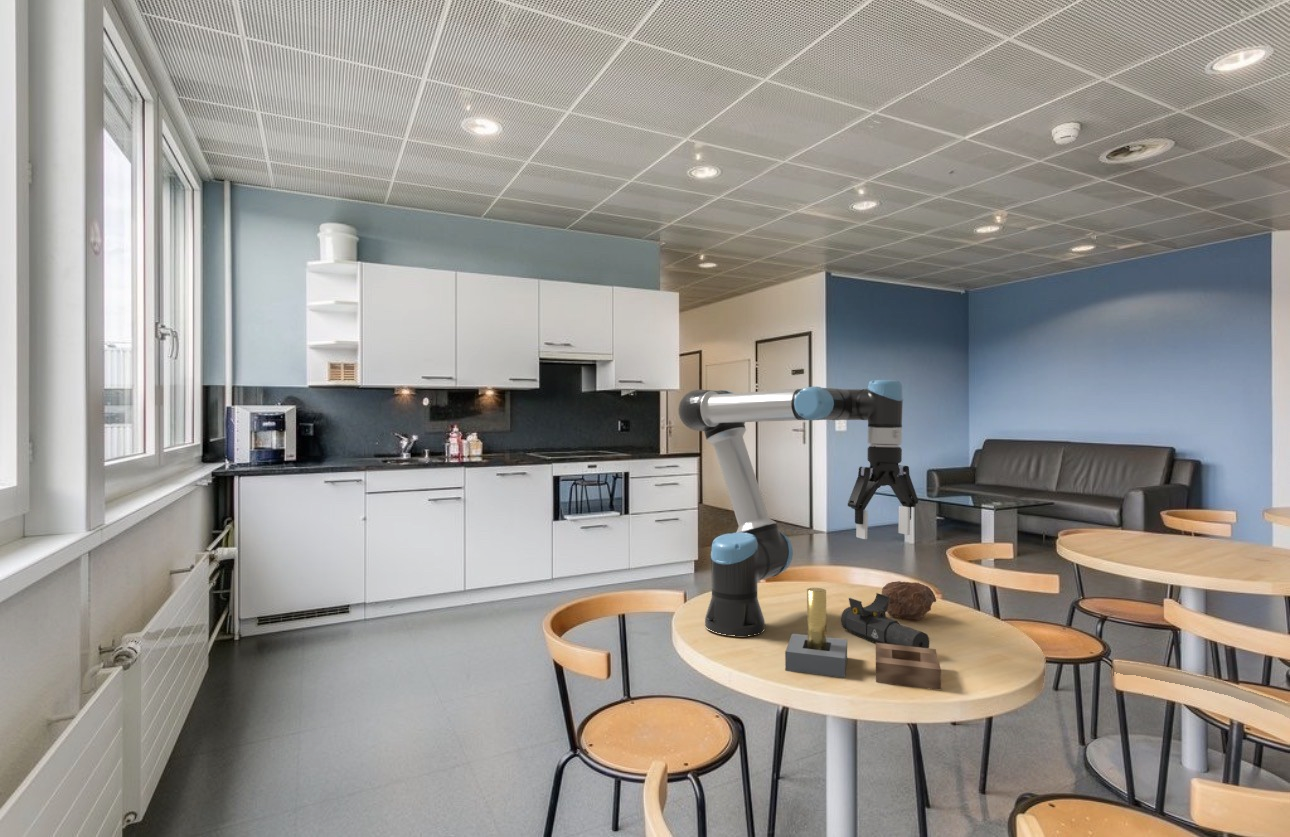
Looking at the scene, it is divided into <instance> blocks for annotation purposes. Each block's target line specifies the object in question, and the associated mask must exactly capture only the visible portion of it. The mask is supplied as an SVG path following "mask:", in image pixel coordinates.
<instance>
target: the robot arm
mask: <svg viewBox="0 0 1290 837" xmlns="http://www.w3.org/2000/svg"><path fill="white" fill-rule="evenodd" d="M903 401H904V398H903V385H902V383H901V381H899V380H898V379H897V380H895V379H876V380H875V379H874V380H870V381H869V382H868V386H867V388H863V389H860V388H859V389H857V388H856V389H855V388H854V389H849V388H848V389H847V388H843V389H842V388H831V387H830V388H829V387H821V386H808V387H804V388H794V389H793V388H792V389H779V390H761V391H760V390H759V391H751V392H750V391H749V392H732V391H729V390H721V389H720V390H710V389H694V390H691V391H689V392H688V393H686V394H685V395H683V397H682V398H681V400H680V402H679V405H678V416H679V419H680V421H681V422H682V424H683V425H684V426H686V427H687V428H688V429H690V430H693V431H695V432H697V431H698V432H704V435H705V439H706V442H707V443H709V444H711V445H712V446H713V447H714V451H715V454H716V457H717V460H718V463H719V466H720V470H721V473H722V477H723V480H724V483H725V485H726V489H727V492H728V495H729V499H730V503H731V506H732V508H733V512H734V515H735V519H736V521H737V525H738V527H737V530H736V532H732V533H724V534H721V535H719V536H717V537H715V538H714V539H713V541H712V544H711V552H710V558H711V599H710V601H709V604H708V607H707V611H706V614H705V617H704V626H706V627H707V628H708V629H710V630H712V631H714V632H717V633H721V634H726V635H735V636H747V637H749V636H748V635H754V634H757V635H759V634H758V633H760V634H762V633H763V632H764V631H765V630H764V629H766V628H765V626H766V625H765V617H764V614H763V611H762V608H761V605H760V602H759V599H758V598H759V597H758V581H762V580H765V579H768V578H774V577H777V576H778V575H780V574H782V573H783V572H785V571H786V570H787V569H788V568H789V566H791V563H792V561H793V556H794V551H793V550H794V549H793V544H792V542H791V540H790V539H789V537H788V536H787V535H785V534H784V533H783V532H781V531H780V530H779V527H778V525H777V524H778V523H777V521H775V520H773V519H771V518H770V516H769V515H768V511H767V509H766V505H765V502H764V499H763V495H762V493H761V489H760V486H759V483H758V481H757V477H756V474H755V471H754V467H753V464H752V462H751V459H750V455H749V451H748V449H747V445H746V443H745V439H744V435H745V433H746V431H747V429H746V425H745V424H746V423H753V422H754V423H758V422H762V423H763V422H784V421H785V422H786V421H788V422H789V421H867V444H868V445H869V446H868V447H867V461H868V463H869V467H868V466H859V468H858V474H857V478H856V481H855V483H854V486H853V489H852V491H851V494H850V496H849V499H848V502H847V507H850V508H851V509H853V510H854V523H855V524H856V527H855V530H856V532H855V535H856V536H855V537H856V538H858V539H862V540H868V529H869V528H868V524H869V523H868V522H869V521H868V520H869V519H868V517H869V515H868V514H869V513H868V512H869V511H868V510H867V509H866V507H867V506H868V504H870V502H871V500H872V498H873V497H874V495H875V494H876V492H877V490H878V489H879V488H881V487H885V486H889V487H890V488H891V490H892V491H893V494H894V495H895V496H896V498H897V500H898V501H899V502H900V504H901V505H898V527H897V528H898V531H897V532H898V534H903V535H906V536H910V535H911V534H910V533H911V519H912V508H915V507H916V506H917V505H916V504H919V499H918V496H917V495H918V494H917V492H916V490H915V486H914V484H913V482H912V478H911V475H910V467H909V466H908V465H901V463H902V460H903V458H902V456H903V455H902V454H903V453H902V451H903V450H902V449H903V448H902V447H901V446H900V445H902V442H903V441H902V438H903V437H902V434H903V433H902V429H903V404H904V403H903ZM763 630H764V631H763ZM762 631H763V632H762ZM761 632H762V633H761ZM754 636H755V635H754Z"/></svg>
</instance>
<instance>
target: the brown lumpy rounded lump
mask: <svg viewBox="0 0 1290 837" xmlns="http://www.w3.org/2000/svg"><path fill="white" fill-rule="evenodd" d="M881 594H882V595H885V596H888V597H889V602H888V608H887V612H886V613H887V614H888V616H890V617H891V616H892V617H895V618H901V619H902V620H903V619H904V620H905V619H906V620H907V619H912V620H914V621H919V620H921V619H923V618H924V617H925V616H926V615H927V613H928V612H930V611H931V610H932V605H933V603H936V602H937V598H936V595H935V592H933V590H932V589H931V587H929V586H927V585H925V584H922V583H920V582H917V581H916V582H913V581H912V582H909V581H901V580H896V581H891V582H888V583H886V584H885V586H882V588H881Z"/></svg>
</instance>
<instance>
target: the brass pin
mask: <svg viewBox="0 0 1290 837" xmlns="http://www.w3.org/2000/svg"><path fill="white" fill-rule="evenodd" d="M806 605H807V606H806V608H807V609H806V610H807V611H806V612H807V617H806V618H807V619H806V620H807V621H806V622H807V624H806V626H807V628H806V629H807V630H806V632H807V634H806V635H807V641H808V649H814V650H823V651H827V639H826V637H827V590H826V589H825V588H821V587H820V588H819V587H809V588H807V589H806Z"/></svg>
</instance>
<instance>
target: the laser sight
mask: <svg viewBox="0 0 1290 837" xmlns="http://www.w3.org/2000/svg"><path fill="white" fill-rule="evenodd" d="M875 594H876V595H875V598H874V600H873V601H872V603H870V604H868V605H866V606H863V604H862V603H863V602H862V601H860V600H857V599H855V598H851V597H849V598H848V602H849V603H848V604H849V606H847V607H846V608H845V609H844V610H843V611H842V612H841V615H840V624H841V626H842V628H843V629H844V630H846V631H848V632H850V634H852V635H854V636H857V637H859V638H863V640H867V641H870V642H871V643H872V642H873V643H875V644H876V643H883V644H893V645H902V646H911V647H920V648H930V638H929V636H928V634H927V633H926V632H924V631H921V630H918V629H915V628H912V627H909V626H906V625H903V624H900V622H899V621H898V620H896V619H893V618H891V617H888V616H886V613H887V608H888V602H889V597H888V596H885V595H882V593H878V592H876V593H875Z"/></svg>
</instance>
